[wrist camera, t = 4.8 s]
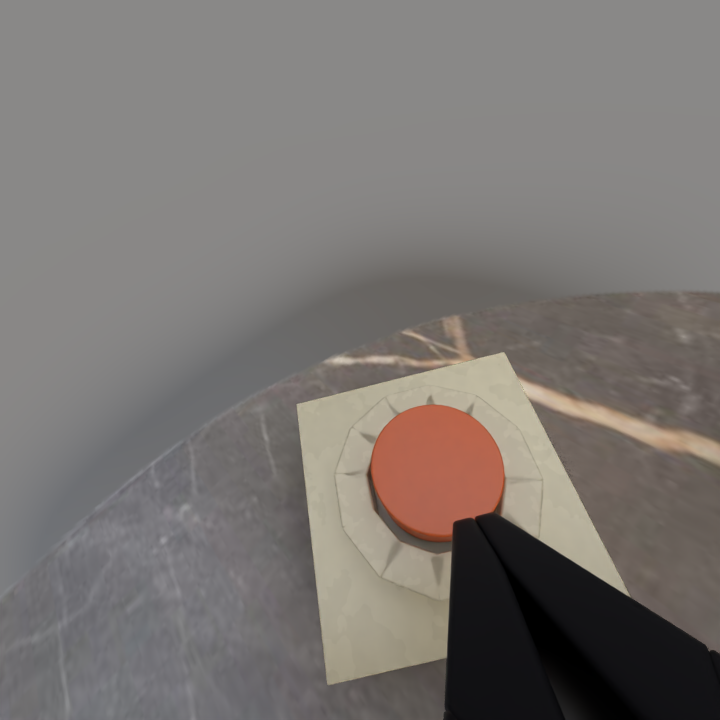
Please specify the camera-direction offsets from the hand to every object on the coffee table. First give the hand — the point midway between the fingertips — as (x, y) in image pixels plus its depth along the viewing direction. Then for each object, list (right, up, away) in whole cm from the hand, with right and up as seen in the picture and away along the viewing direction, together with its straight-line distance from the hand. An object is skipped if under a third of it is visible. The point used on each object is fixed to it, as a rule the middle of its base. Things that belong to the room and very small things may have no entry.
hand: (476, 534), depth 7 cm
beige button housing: (+1, -4, +11) cm, 11 cm away
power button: (0, -1, +5) cm, 6 cm away
